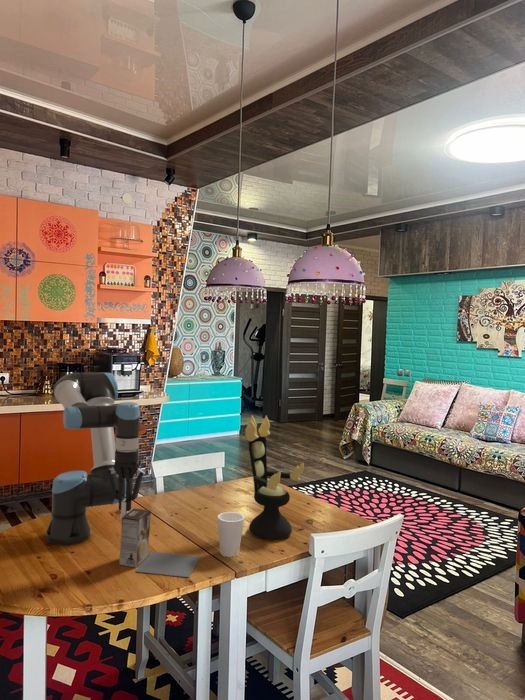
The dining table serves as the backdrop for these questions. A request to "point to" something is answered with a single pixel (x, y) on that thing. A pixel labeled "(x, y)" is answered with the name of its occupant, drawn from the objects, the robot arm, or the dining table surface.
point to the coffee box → (135, 537)
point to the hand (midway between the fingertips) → (124, 519)
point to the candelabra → (268, 486)
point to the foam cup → (230, 532)
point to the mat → (169, 564)
